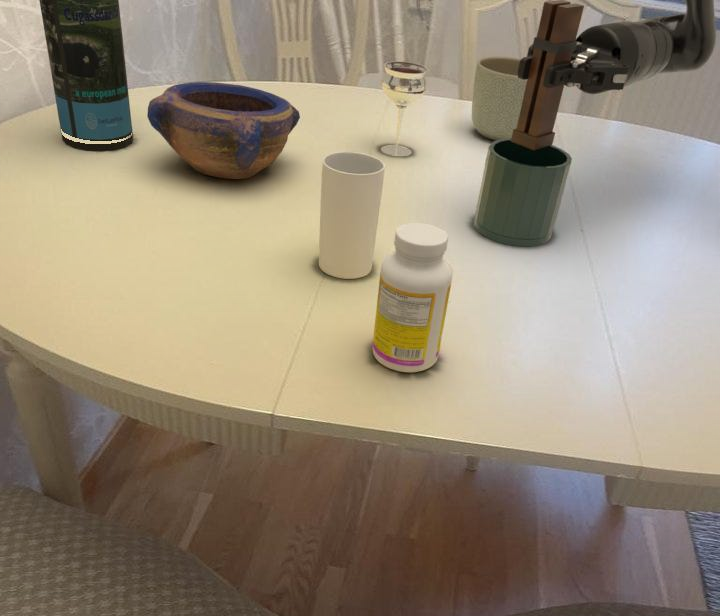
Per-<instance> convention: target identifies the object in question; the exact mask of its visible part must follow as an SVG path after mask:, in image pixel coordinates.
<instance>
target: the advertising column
mask: <svg viewBox="0 0 720 616" xmlns="http://www.w3.org/2000/svg"><path fill="white" fill-rule="evenodd" d="M38 1H39V7H40V13H41V20H42V25H43V31H44V37H45V43H46V50H47V55H48V61H49V67H50V72H51V79H52V85H53V92H54V99H55V103H56V109H57V115H58V121H59V128H60V130H61V129H62V131H63V132H64V133H66V134H68V135H70V136H72V137H75V138H79V139H83V140H90V141H112V140H119V139H123V138H126V137H127V136H129V135H131V133H132V136H131V137H130V138H128V139H126V140H124V141H121V142H117V143H111V144H85V143H80V142H74V141H72V140H69V139H67V138H65V137H64V136H63V135H62V133H61V132H60V134H61V139H62V140H61V141H62V142H63V143H64V144H65V145H66V146H68V147H69V148H73V149H76V150H81V151H85V152H102V153H103V152H111V151H118V150H121V149H124V148H127V147H129V146H130V145H132V144H133V142H134V133H133V125H132V124H133V123H132V116H131V115H132V114H131V104H130V95H129V85H128V77H127V76H128V75H127V67H126V58H125V48H124V39H123V29H122V19H121V10H120V9H121V8H120V0H38Z"/></svg>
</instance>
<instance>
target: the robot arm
mask: <svg viewBox="0 0 720 616" xmlns="http://www.w3.org/2000/svg"><path fill="white" fill-rule="evenodd" d="M684 1H685V6H686V11H685V13H683V14H682V13H681V14H674V15H673V14H672V15H665V16H657V17H651V18H647V19H644V20H637V21H630V20H629V21H628V20H627V21H618V22H612V23H605V24H599V25H593V26H590V27H588V28H586V29H585V30H583V31H582V32H581V33H580V34H579V35H577V36H576V40H575V41H577V45H576V49H575V51H573V52H572V56H571V60H570V63H566V62H565V63H560V64H555V65H550V66H548V67H547V69H546V73H545V77H544V81H543V86H544V87H547V88H553V87H557V86H561V85H564V86H565V87H567V88H572V87H575V88H577V89H578V90H580V91H581V92H583V93H585V94H589V95H598V94H601V93H606V92H609V91H621V90H624V88H625V87H628V86H630V85H632V84H634V83H637V82H640V81H644V80H647V79H650V78H653V77H654V76H657V75H658V74H666V73H667V74H668V73H669V74H670V73H682V72H683V73H684V72H686V73H687V72H695V71H698V70H700V69H702V68H703V66H705V65H706V64H707V62H709V60H710V58H711V57H712V55H713V54H714V53H713V52H714V50H715V47H716V42H717V26H716V14H715V0H684ZM532 46H533V43H532V44H531V45H530V46H529V47H528V49H527V54H526V56H524V57H522V58H520V59H521V60H520V63H519V68H518V78H520V79H523V80H525V79H528V74H529V70H530V65H531V61H532V56H533V51H534V47H532Z"/></svg>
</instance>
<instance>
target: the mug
mask: <svg viewBox="0 0 720 616" xmlns="http://www.w3.org/2000/svg"><path fill="white" fill-rule="evenodd" d="M321 161H322V167H321V182H320V207H319V208H320V210H319V213H320V214H319V238H318V266H319V268H320V270H321V271H322V272H324V273H325V274H326V275H329V276H330V277H334V278H338V279H345V280H354V279H360V278H361V279H362V278H363V277H364V278H365V277H366V276H368V275H369V274H370V273H371V272H372V269H373V262H374V255H375V254H374V253H375V248H376V241H377V233H378V224H379V217H380V209H381V204H382V203H381V202H382V194H383V187H384V179H385V171H386V170H385V169H386V164H385V162H384V161H383V160H381V159H380V158H379V157H376V156H374V155H371V154H368V153H363V152H357V151H337V152H336V151H335V152H332V153H329V154H326V155H325V156H323V158H322V160H321Z"/></svg>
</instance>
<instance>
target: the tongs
mask: <svg viewBox="0 0 720 616" xmlns="http://www.w3.org/2000/svg"><path fill="white" fill-rule="evenodd" d="M584 8H585V5H584V4H580V3H571V1H568V0H550V1H544V2H543V6H542V10H541V16H540V20H539V24H538V29H537V34H536V36H534V38H533V43H532V44H533V46H532V47H534V51H533V56H532V61H531V65H530V70H529V74H528V79H527V83H526V88H525V92H524V97H523V101H522V106H521V110H520V115H519V120H518V124H517V128H516V129H513V133H512V138H511V142H513V143H516V144H518V145H521V146H523V147H526V148H529V149H531V150H537V149H540V148H544V147H547V146H550V145H553V143H554V140H555V135H556V132H554V127H555V124H556V120H557V116H558V112H559V108H560V103H561V100H562V96H563V91H564V88H565V85H561V86H557V87H553V88H547V87H544V86H543V81H544V77H545V73H546V69H547V67H548V66H550V65H555V64H560V63H565V62H566V63H570V60H571V56H572V52H573V51H575V49H576V45H577V41H575V40H576V39H577V37H578V32H579V29H580V25H581V20H582V15H583V12H584Z"/></svg>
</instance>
